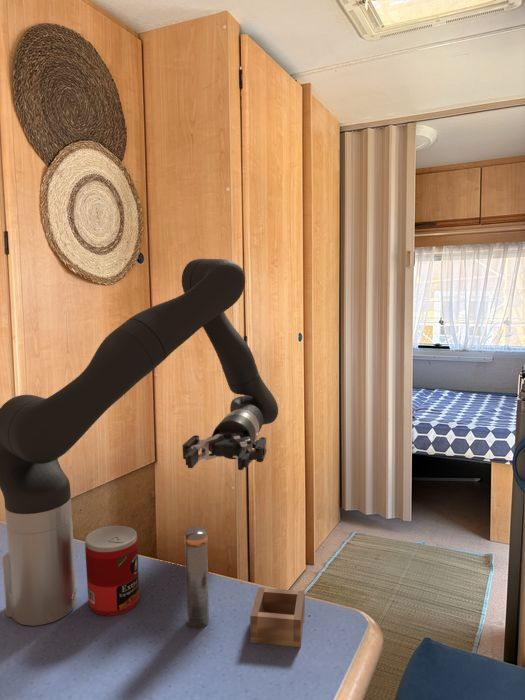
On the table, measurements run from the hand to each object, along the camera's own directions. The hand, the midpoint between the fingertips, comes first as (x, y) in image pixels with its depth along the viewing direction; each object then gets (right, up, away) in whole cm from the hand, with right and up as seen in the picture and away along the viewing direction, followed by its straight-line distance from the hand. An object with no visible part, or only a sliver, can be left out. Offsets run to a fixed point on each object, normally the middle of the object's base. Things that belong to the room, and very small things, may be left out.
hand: (214, 463), depth 87 cm
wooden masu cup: (+10, -22, -10) cm, 26 cm away
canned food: (-16, -21, -3) cm, 27 cm away
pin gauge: (-2, -22, -8) cm, 23 cm away
